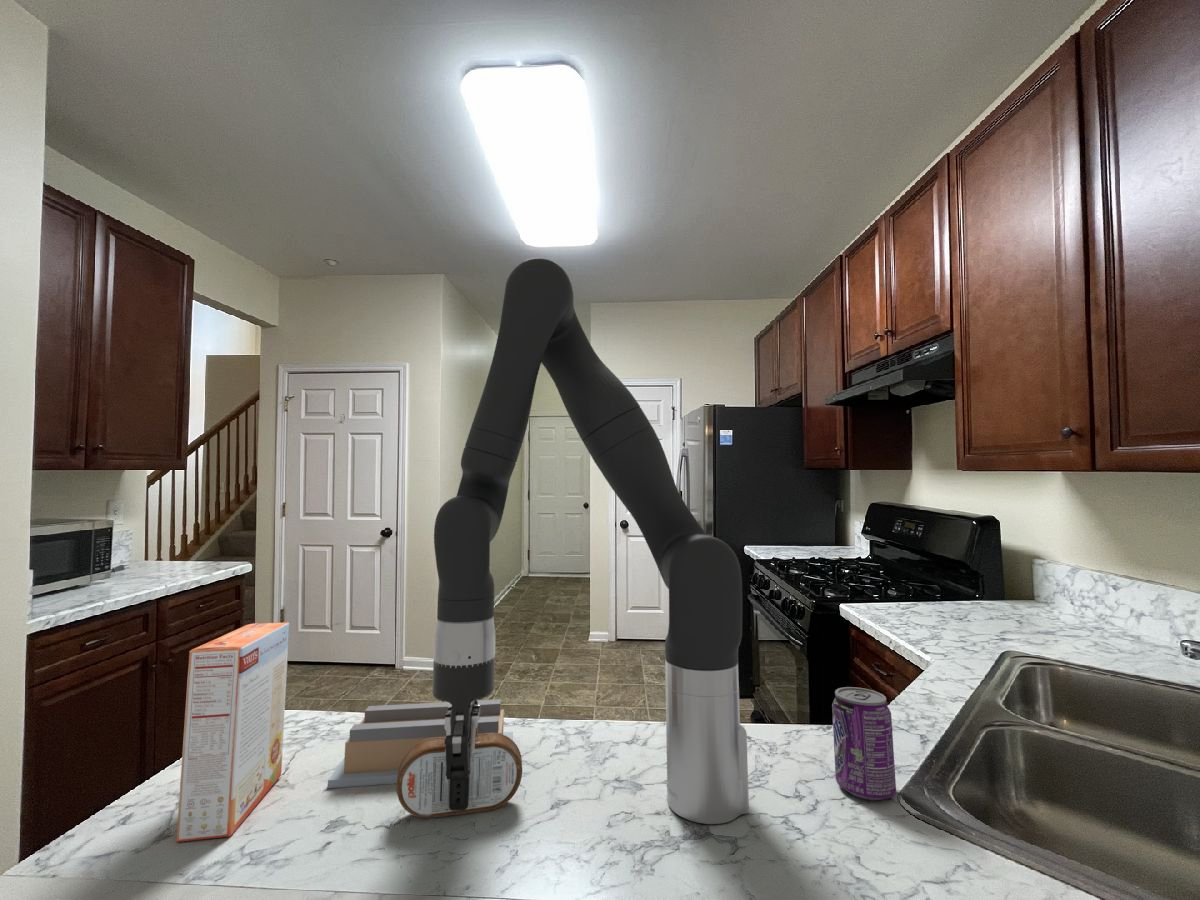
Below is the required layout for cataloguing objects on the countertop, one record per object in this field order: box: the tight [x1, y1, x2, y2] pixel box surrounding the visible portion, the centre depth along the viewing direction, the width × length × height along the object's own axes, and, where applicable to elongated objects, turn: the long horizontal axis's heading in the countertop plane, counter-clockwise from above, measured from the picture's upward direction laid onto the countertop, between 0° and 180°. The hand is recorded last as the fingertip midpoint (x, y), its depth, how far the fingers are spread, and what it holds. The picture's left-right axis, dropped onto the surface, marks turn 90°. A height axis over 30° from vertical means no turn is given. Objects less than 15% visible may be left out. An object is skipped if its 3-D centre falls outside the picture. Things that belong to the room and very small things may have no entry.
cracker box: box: [176, 622, 290, 843], centre depth 66 cm, size 14×6×21 cm, turn 10°
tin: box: [395, 733, 523, 819], centre depth 65 cm, size 15×3×8 cm, turn 104°
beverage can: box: [831, 686, 897, 801], centre depth 69 cm, size 7×7×12 cm
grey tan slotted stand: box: [327, 699, 514, 789], centre depth 77 cm, size 24×12×7 cm, turn 98°
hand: (460, 799), depth 64 cm, fingers closed on tin, 3 cm apart
